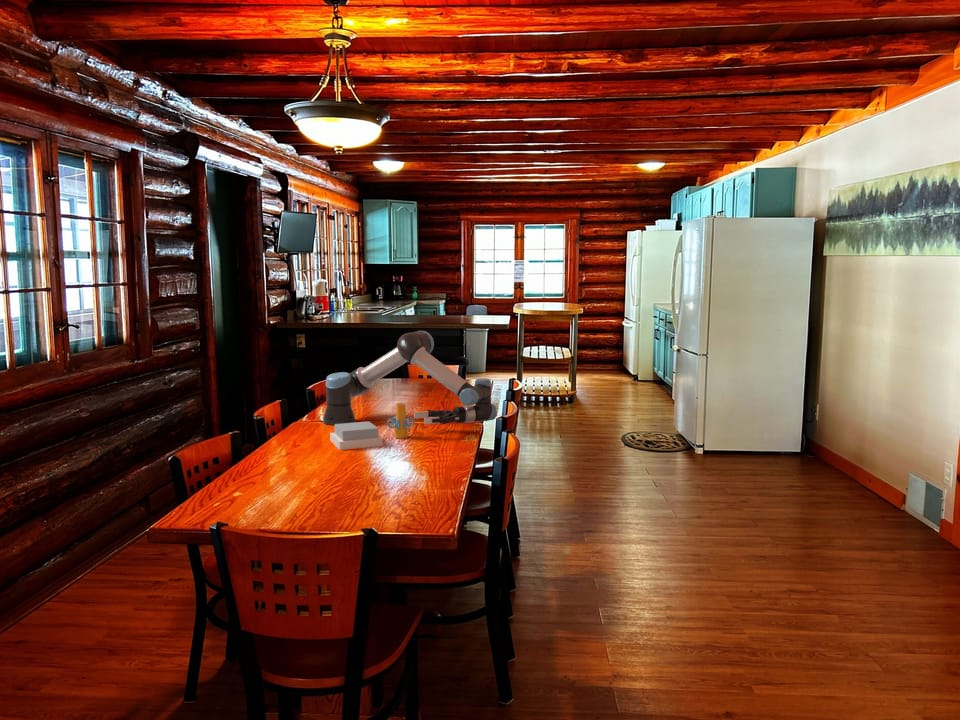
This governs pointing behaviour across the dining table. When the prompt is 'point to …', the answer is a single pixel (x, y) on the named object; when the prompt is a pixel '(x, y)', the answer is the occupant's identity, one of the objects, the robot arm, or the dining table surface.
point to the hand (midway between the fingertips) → (419, 418)
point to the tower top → (356, 431)
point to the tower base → (355, 442)
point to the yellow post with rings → (400, 422)
